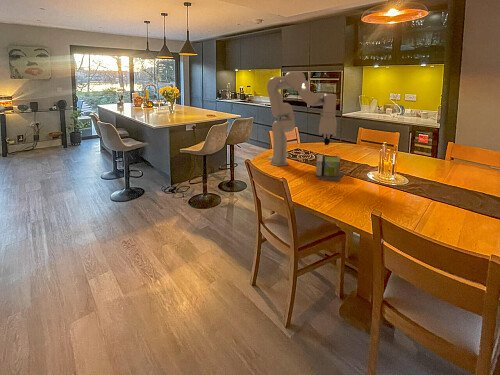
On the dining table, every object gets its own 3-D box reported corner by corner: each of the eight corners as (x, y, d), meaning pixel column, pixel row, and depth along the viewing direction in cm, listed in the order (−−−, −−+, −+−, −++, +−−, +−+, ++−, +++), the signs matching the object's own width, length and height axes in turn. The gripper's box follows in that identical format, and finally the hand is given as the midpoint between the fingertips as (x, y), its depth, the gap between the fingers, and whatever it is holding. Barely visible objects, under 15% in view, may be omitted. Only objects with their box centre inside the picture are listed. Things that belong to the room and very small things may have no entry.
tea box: (315, 176, 217) (339, 177, 214) (316, 160, 213) (340, 161, 210) (316, 169, 230) (339, 170, 227) (317, 154, 227) (340, 155, 224)
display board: (317, 178, 213) (317, 177, 213) (325, 171, 228) (325, 170, 228) (337, 182, 208) (338, 180, 207) (345, 174, 223) (345, 172, 222)
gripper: (314, 114, 208) (313, 144, 214) (339, 116, 201) (337, 147, 207) (318, 113, 214) (316, 142, 220) (342, 114, 207) (340, 144, 213)
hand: (326, 144), depth 213 cm, fingers closed
